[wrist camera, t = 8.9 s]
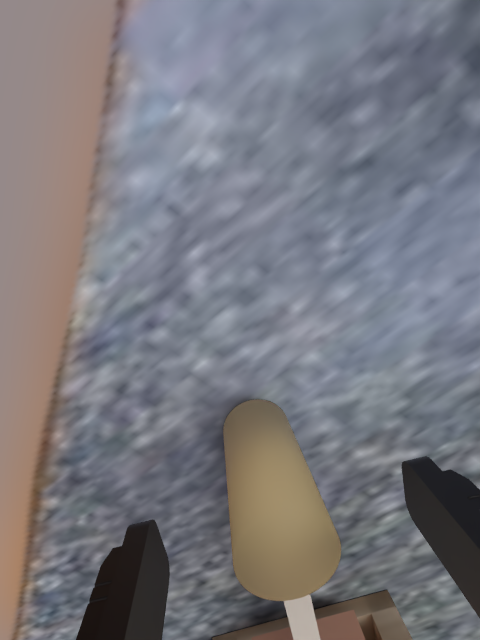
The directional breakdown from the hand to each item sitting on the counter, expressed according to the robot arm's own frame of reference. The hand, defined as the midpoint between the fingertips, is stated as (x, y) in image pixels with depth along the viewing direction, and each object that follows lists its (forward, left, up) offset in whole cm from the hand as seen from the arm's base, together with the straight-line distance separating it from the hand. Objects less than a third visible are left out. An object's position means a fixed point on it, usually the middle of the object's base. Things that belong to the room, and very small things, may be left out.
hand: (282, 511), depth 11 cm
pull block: (+9, 0, -6) cm, 11 cm away
